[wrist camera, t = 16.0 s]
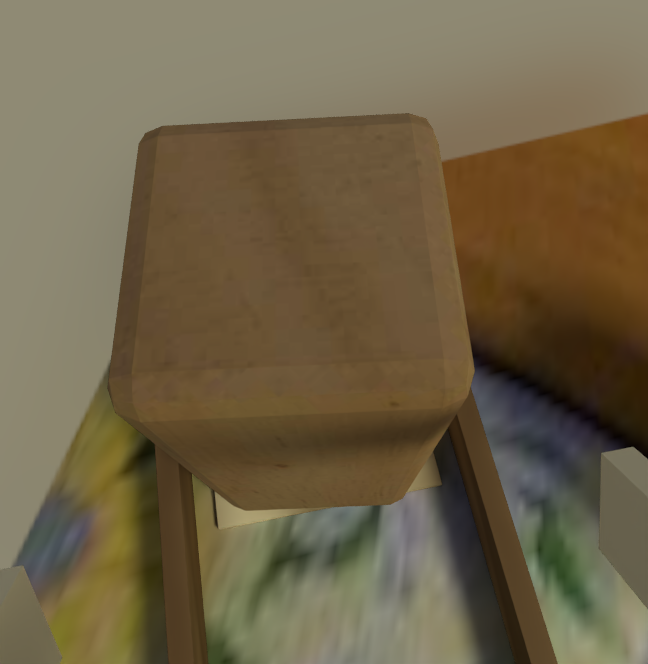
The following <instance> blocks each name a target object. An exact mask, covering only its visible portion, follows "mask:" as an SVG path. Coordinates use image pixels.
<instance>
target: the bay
mask: <svg viewBox="0 0 648 664" xmlns="http://www.w3.org/2000/svg"><path fill="white" fill-rule="evenodd" d="M448 430H449V434H450V437H451V441H452V444H453V448H454V451H455V455H456V458H457V461H458V465H459V468H460V472H461V475H462V479H463V482H464V486H465V489H466V493H467V496H468V500H469V503H470V507H471V510H472V514H473V517H474V521H475V524H476V528H477V531H478V535H479V538H480V542H481V545H482V549H483V552H484V555H485V559H486V562H487V566H488V569H489V573H490V576H491V580H492V583H493V587H494V590H495V594H496V597H497V601H498V604H499V608H500V611H501V615H502V618H503V622H504V625H505V629H506V632H507V636H508V639H509V643H510V646H511V650H512V653H513V656H514V660H515V663H516V664H558V663H557V660H556V657H555V654H554V651H553V647H552V644H551V641H550V638H549V635H548V631H547V628H546V625H545V622H544V619H543V616H542V612H541V609H540V606H539V603H538V600H537V596H536V593H535V590H534V587H533V584H532V581H531V577H530V574H529V571H528V568H527V565H526V561H525V558H524V555H523V552H522V549H521V546H520V542H519V539H518V536H517V533H516V530H515V527H514V523H513V520H512V517H511V514H510V511H509V507H508V504H507V501H506V498H505V495H504V492H503V488H502V485H501V482H500V479H499V476H498V472H497V469H496V466H495V463H494V460H493V457H492V453H491V450H490V447H489V444H488V441H487V437H486V434H485V431H484V428H483V425H482V422H481V418H480V415H479V412H478V409H477V406H476V402H475V399H474V396H473V393H472V390H471V387H470V390H469V394H468V397H467V398H466V400H465V401H464V403H463V405H462V406H461V408H460V409H459V411H458V412H457V414H456V416H455V417H454V419H453V420H452V422H451V423H450V425H449V427H448ZM155 456H156V472H157V488H158V504H159V520H160V536H161V552H162V568H163V584H164V600H165V616H166V632H167V648H168V664H208V655H207V643H206V632H205V621H204V609H203V598H202V587H201V575H200V564H199V553H198V541H197V530H196V519H195V507H194V496H193V485H192V473H191V472H190V471H189V470H187V469H186V468H185V467H183V466H182V465H181V464H180V463H178V462H177V461H176V460H175V459H173V458H172V457H171V456H170V455H168V454H167V453H166V452H164V451H163V450H162V449H161V448H159V447H158V446H157V445H156V444H155ZM441 485H442V482H441V478H440V474H439V471H438V467H437V463H436V460H435V456H434V452H432V453H431V455H430V456H429V458H428V459H427V461H426V463H425V464H424V466H423V467H422V469H421V470H420V472H419V474H418V475H417V477H416V478H415V480H414V481H413V483H412V485H411V486H410V488H409V489H408V491H407V492H411V491H416V490H421V489H426V488H431V487H436V486H441ZM215 500H216V510H217V520H218V529H219V530H221V529H226V528H231V527H236V526H241V525H246V524H251V523H256V522H261V521H266V520H271V519H276V518H281V517H286V516H291V515H296V514H301V513H306V512H311V511H316V510H321V509H326V508H331V507H323V508H300V509H277V510H254V511H245V510H242V509H240V508H237V507H235V506H233V505H231V504H230V503H229V502H228V501H226V500H225V499H224V498H223V497H221V496H220V495H219V494H218V493H216V492H215Z"/></svg>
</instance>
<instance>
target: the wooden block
mask: <svg viewBox="0 0 648 664" xmlns="http://www.w3.org/2000/svg"><path fill="white" fill-rule="evenodd" d="M474 372H475V370H474V363H473V357H472V351H471V345H470V338H469V332H468V326H467V320H466V313H465V307H464V301H463V295H462V288H461V282H460V276H459V269H458V263H457V257H456V251H455V244H454V238H453V232H452V226H451V219H450V213H449V207H448V201H447V194H446V188H445V182H444V176H443V169H442V163H441V157H440V151H439V144H438V142H437V139H436V136H435V134H434V131H433V128H432V127H431V125H430V124H429V122H428V121H427V119H426V118H423V117H419V116H416V115H412V114H409V113H405V114H387V115H386V114H385V115H366V116H347V117H327V118H308V119H288V120H269V121H250V122H231V123H211V124H191V125H173V126H161V127H159V128H156V129H154V130H152V131H149V132H147V133H145V135H144V137H143V138H142V140H141V141H140V143H139V146H138V154H137V162H136V170H135V178H134V186H133V193H132V201H131V209H130V216H129V225H128V232H127V240H126V248H125V256H124V263H123V271H122V279H121V287H120V294H119V302H118V310H117V318H116V326H115V334H114V341H113V349H112V356H111V364H110V372H109V380H108V391H109V394H110V397H111V400H112V404H113V407H114V410H115V413H116V414H118V415H119V416H120V417H121V418H123V419H124V420H125V421H127V422H128V423H129V424H130V425H132V426H133V427H134V428H135V429H137V430H138V431H139V432H140V433H142V434H143V435H144V436H146V437H147V438H148V439H149V440H151V441H152V442H153V443H154V444H156V445H157V446H158V447H159V448H161V449H162V450H163V451H164V452H166V453H167V454H168V455H170V456H171V457H172V458H173V459H175V460H176V461H177V462H178V463H180V464H181V465H182V466H183V467H185V468H186V469H187V470H189V471H190V472H191V473H192V474H194V475H195V476H196V477H197V478H199V479H200V480H201V481H202V482H204V483H205V484H206V485H207V486H209V487H210V488H211V489H213V490H214V491H215V492H216V493H218V494H219V495H220V496H221V497H223V498H224V499H225V500H226V501H228V502H229V503H230V504H231V505H233V506H235V507H237V508H240V509H242V510H245V511H254V510H277V509H300V508H323V507H345V506H368V505H390V504H392V503H394V502H396V501H399V500H401V499H403V497H404V496H405V494H406V492H407V491H408V489H409V488H410V486H411V485H412V483H413V481H414V480H415V478H416V477H417V475H418V474H419V472H420V470H421V469H422V467H423V466H424V464H425V463H426V461H427V459H428V458H429V456H430V455H431V453H432V452H433V450H434V449H435V447H436V445H437V444H438V442H439V441H440V439H441V438H442V436H443V434H444V433H445V431H446V430H447V428H448V427H449V425H450V423H451V422H452V420H453V419H454V417H455V416H456V414H457V412H458V411H459V409H460V408H461V406H462V405H463V403H464V401H465V400H466V398H467V397H468V394H469V390H470V386H471V383H472V379H473V376H474Z"/></svg>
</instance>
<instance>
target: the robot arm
mask: <svg viewBox="0 0 648 664" xmlns="http://www.w3.org/2000/svg"><path fill="white" fill-rule="evenodd" d="M599 549H600V551H601V552H602V553H603V554H604V555H605V557H606V558H607V559H608V560H609V562H610V563H611V564H612V565H613V567H614V568H615V569H616V570H617V572H618V573H619V574H620V575H621V576H622V578H623V579H624V580H625V581H626V583H627V584H628V585H629V586H630V588H631V589H632V590H633V591H634V593H635V594H636V595H637V596H638V598H639V599H640V600H641V601H642V602H643V604H644V605H645V606H646V607H647V609H648V459H647V458H646V457H645V456H644V455H642V454H641V453H640V452H639V451H638V450H636V449H635V448H634V447H629V448H624V449H619V450H614V451H609V452H604V453H601V481H600V524H599ZM61 659H62V656H61V654H60V651H59V649H58V647H57V644H56V642H55V639H54V637H53V635H52V632H51V630H50V628H49V625H48V623H47V621H46V618H45V616H44V614H43V611H42V609H41V607H40V604H39V602H38V600H37V597H36V595H35V593H34V590H33V588H32V586H31V583H30V581H29V579H28V576H27V574H26V572H25V569H24V567H23V565H22V566H17V567H12V568H7V569H2V570H0V664H60V662H61Z"/></svg>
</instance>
